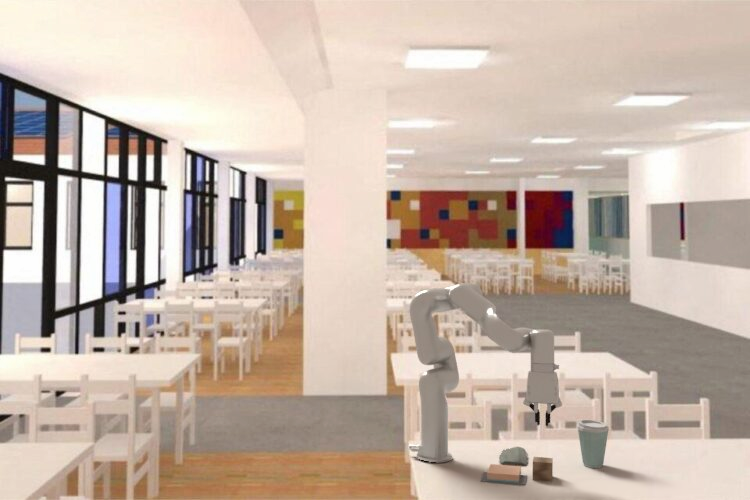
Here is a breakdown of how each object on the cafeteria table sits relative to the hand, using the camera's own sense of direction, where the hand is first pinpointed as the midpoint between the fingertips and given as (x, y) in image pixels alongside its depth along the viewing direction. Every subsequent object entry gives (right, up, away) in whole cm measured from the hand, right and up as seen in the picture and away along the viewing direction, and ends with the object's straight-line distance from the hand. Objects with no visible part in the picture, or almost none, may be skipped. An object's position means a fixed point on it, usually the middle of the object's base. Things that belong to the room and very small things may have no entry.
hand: (542, 424), depth 237 cm
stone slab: (-5, -18, +25) cm, 31 cm away
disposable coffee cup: (+20, -18, +14) cm, 30 cm away
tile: (-11, -16, +5) cm, 20 cm away
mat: (-13, -17, -1) cm, 22 cm away
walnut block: (0, -18, 0) cm, 18 cm away
